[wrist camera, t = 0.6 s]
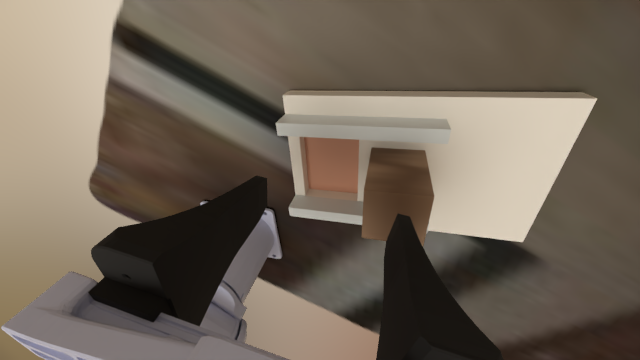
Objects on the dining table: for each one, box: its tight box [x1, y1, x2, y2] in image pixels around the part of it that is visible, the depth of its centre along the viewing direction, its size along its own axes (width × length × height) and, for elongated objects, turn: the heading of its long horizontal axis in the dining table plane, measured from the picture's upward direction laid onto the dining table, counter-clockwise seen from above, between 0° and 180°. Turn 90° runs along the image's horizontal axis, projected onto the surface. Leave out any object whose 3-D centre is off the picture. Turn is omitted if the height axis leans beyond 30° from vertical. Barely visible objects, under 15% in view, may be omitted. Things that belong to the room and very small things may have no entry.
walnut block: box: [362, 147, 434, 246], centre depth 19 cm, size 4×4×6 cm
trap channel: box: [276, 90, 597, 242], centre depth 21 cm, size 20×12×4 cm, turn 93°
